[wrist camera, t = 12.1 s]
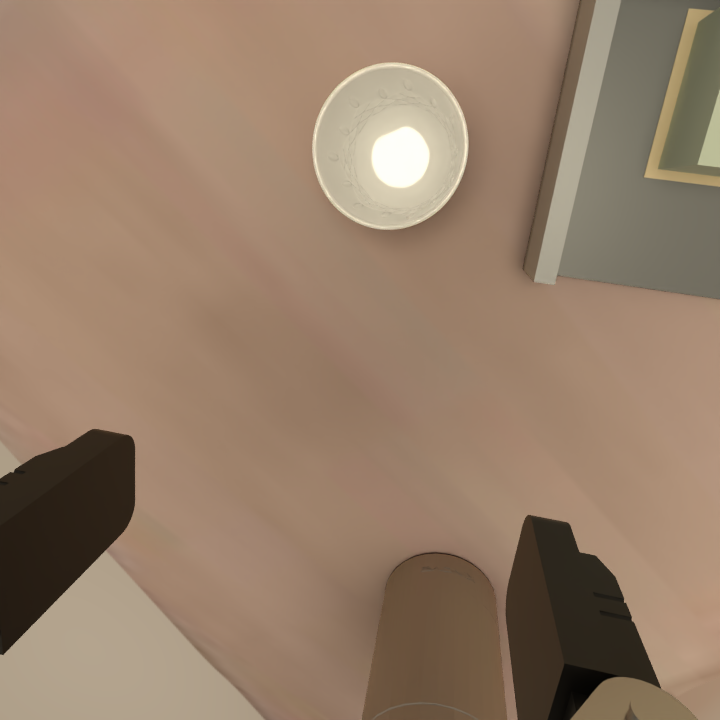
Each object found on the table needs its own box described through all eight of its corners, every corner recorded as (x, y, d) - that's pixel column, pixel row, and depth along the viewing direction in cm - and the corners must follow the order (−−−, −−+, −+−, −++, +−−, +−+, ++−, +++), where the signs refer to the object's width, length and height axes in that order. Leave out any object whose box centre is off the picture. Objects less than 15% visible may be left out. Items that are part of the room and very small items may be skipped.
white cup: (364, 233, 39) (335, 246, 30) (334, 117, 37) (292, 91, 28) (476, 203, 38) (483, 206, 28) (450, 79, 36) (448, 38, 26)
